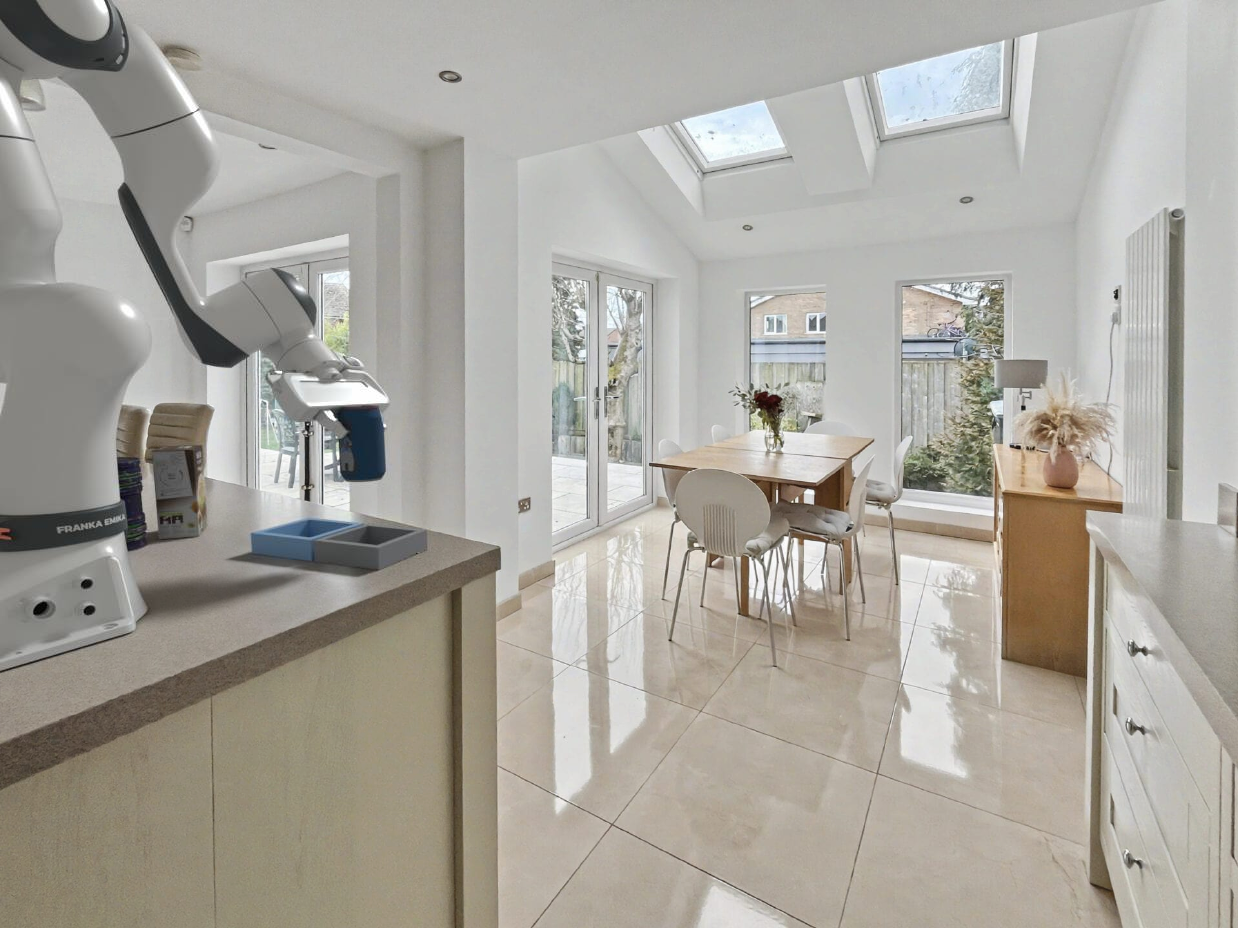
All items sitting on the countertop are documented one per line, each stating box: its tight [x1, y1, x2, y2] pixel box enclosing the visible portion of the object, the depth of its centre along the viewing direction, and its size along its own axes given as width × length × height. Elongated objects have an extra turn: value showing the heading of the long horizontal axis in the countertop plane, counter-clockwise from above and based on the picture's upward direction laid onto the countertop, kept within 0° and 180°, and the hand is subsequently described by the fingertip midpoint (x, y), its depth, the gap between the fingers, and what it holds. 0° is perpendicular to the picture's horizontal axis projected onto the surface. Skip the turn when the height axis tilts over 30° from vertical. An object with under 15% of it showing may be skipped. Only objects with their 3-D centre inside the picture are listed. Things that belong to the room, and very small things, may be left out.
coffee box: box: [151, 444, 209, 540], centre depth 116 cm, size 9×6×16 cm
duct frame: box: [250, 517, 428, 571], centre depth 106 cm, size 12×25×4 cm, turn 72°
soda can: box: [336, 405, 387, 483], centre depth 102 cm, size 7×7×12 cm
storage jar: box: [117, 456, 148, 553], centre depth 105 cm, size 10×10×15 cm
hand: (364, 433), depth 102 cm, fingers closed on soda can, 7 cm apart
